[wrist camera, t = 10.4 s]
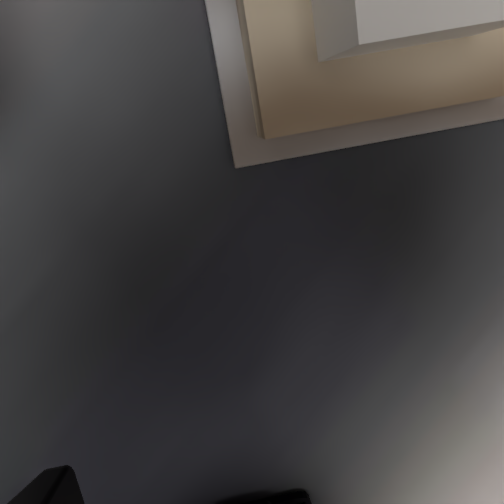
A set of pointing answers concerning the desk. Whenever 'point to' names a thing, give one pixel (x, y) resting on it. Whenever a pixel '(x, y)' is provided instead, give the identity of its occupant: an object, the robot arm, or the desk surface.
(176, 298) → the desk surface
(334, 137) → the stand
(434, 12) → the block
